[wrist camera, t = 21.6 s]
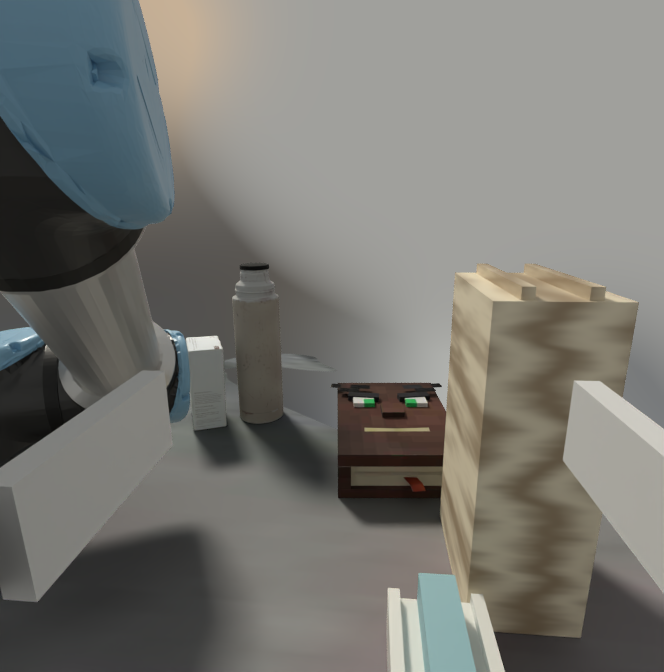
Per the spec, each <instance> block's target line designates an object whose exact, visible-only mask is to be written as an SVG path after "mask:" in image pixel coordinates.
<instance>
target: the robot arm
mask: <svg viewBox="0 0 664 672" xmlns="http://www.w3.org/2000/svg"><path fill="white" fill-rule="evenodd" d="M173 206H174V177H173V169H172V161H171V153H170V144H169V138H168V132H167V126H166V120H165V116H164V112H163V107H162V102H161V98H160V95H159V88H158V79H157V74H156V69H155V64H154V59H153V55H152V51H151V47H150V42H149V38H148V34H147V30H146V26H145V22H144V18H143V15H142V11H141V7H140V4H139V1H138V0H0V293H2V294H3V296H4V297H5V298H6V299H7V300H8V301H9V302H10V304H11V305H12V306H13V307H14V308H15V309H16V310H17V312H18V313H19V314H20V315H21V316H22V317H23V319H24V320H25V321H26V322H27V323H28V324H29V325H30V327H31V328H30V327H27V328H19V329H12V330H7V331H1V332H0V588H1V593H2V597H3V600H15V601H29V602H38V601H39V600H40V598H41V597H42V596H43V595H44V594H45V593H46V591H47V590H48V589H49V588H50V587H51V586H52V584H53V583H54V582H55V581H56V580H57V579H58V578H59V576H60V575H61V574H62V573H63V572H64V571H65V569H66V568H67V567H68V566H69V565H70V564H71V562H72V561H73V560H74V559H75V558H76V557H77V556H78V554H79V553H80V552H81V551H82V550H83V549H84V547H85V546H86V545H87V544H88V543H89V542H90V540H91V539H92V538H93V537H94V536H95V535H96V534H97V532H98V531H99V530H100V529H101V528H102V527H103V525H104V524H105V523H106V522H107V521H108V520H109V518H110V517H111V516H112V515H113V514H114V513H115V512H116V510H117V509H118V508H119V507H120V506H121V505H122V503H123V502H124V501H125V500H126V499H127V498H128V496H129V495H130V494H131V493H132V492H133V491H134V490H135V488H136V487H137V486H138V485H139V484H140V483H141V481H142V480H143V479H144V478H145V477H146V476H147V474H148V473H149V472H150V471H151V470H152V469H153V468H154V466H155V465H156V464H157V463H158V462H159V461H160V459H161V458H162V457H163V456H164V455H165V454H166V452H167V451H168V450H169V449H170V448H171V447H172V446H173V443H172V434H171V425H170V423H174V422H178V421H181V420H182V419H183V418H185V416H186V415H187V413H188V410H189V405H190V394H189V392H190V366H189V357H188V349H187V344H186V341H185V338H184V336H183V334H182V333H181V332H179V331H170V330H163V329H162V328H161V327H160V326H158V325H157V324H156V323H154V322H153V321H152V318H151V314H150V310H149V306H148V302H147V298H146V294H145V290H144V286H143V282H142V278H141V274H140V270H139V266H138V262H137V258H136V254H135V249H134V248H135V246H136V245H137V244H138V242H139V240H140V238H141V237H142V235H143V233H144V230H145V228H146V226H147V225H148V224H152V223H155V224H156V223H159V222H162V221H164V220H165V218H166V217H167V216H168V215H170V214H171V211H172V209H173ZM563 461H564V463H565V464H566V465H567V467H568V468H569V469H570V471H571V472H572V473H573V475H574V476H575V477H576V478H577V480H578V481H579V482H580V484H581V485H582V486H583V488H584V489H585V490H586V492H587V493H588V494H589V496H590V497H591V498H592V500H593V501H594V502H595V504H596V505H597V506H598V507H599V509H600V510H601V511H602V513H603V514H604V515H605V517H606V518H607V519H608V521H609V522H610V523H611V525H612V526H613V527H614V529H615V530H616V531H617V533H618V534H619V535H620V537H621V538H622V539H623V540H624V542H625V543H626V544H627V546H628V547H629V548H630V550H631V551H632V552H633V554H634V555H635V556H636V558H637V559H638V560H639V562H640V563H641V564H642V566H643V567H644V568H645V570H646V571H647V572H648V573H649V575H650V576H651V577H652V579H653V580H654V581H655V583H656V584H657V585H658V587H659V588H660V589H661V591H662V592H663V593H664V429H663V428H662V427H660V426H659V425H658V424H656V423H655V422H653V421H652V420H651V419H650V418H648V417H647V416H646V415H644V414H643V413H641V412H640V411H639V410H638V409H636V408H635V407H634V406H632V405H631V404H630V403H628V402H627V401H626V400H624V399H623V398H622V397H620V396H619V395H618V394H616V393H615V392H614V391H612V390H611V389H610V388H608V387H607V386H606V385H604V384H603V383H602V382H600V381H574V384H573V391H572V398H571V405H570V412H569V419H568V426H567V433H566V440H565V447H564V454H563Z"/></svg>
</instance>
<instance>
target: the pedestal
mask: <svg viewBox="0 0 664 672" xmlns="http://www.w3.org/2000/svg"><path fill="white" fill-rule="evenodd" d="M454 284H455V285H454V299H453V315H452V331H451V346H450V362H449V379H448V395H447V411H446V425H445V441H444V457H443V473H442V488H441V504H440V518H441V523H442V528H443V532H444V537H445V542H446V546H447V551H448V555H449V560H450V565H451V569H452V574H453V575H455V577H456V582H457V586H458V591H459V596H460V600H461V602H463V603H470V597H471V593H472V594H483V596H484V600H485V603H486V607H487V610H488V614H489V617H490V621H491V624H492V628H493V632H503V633H517V634H531V635H545V636H559V637H573V638H581V633H582V628H583V622H584V616H585V610H586V605H587V599H588V593H589V587H590V581H591V576H592V570H593V564H594V558H595V553H596V547H597V541H598V535H599V530H600V524H601V518H602V511H601V510H600V509H599V507H598V506H597V505H596V504H595V502H594V501H593V500H592V498H591V497H590V496H589V494H588V493H587V492H586V490H585V489H584V488H583V486H582V485H581V484H580V482H579V481H578V480H577V478H576V477H575V476H574V475H573V473H572V472H571V471H570V469H569V468H568V467H567V465H566V464H565V463H564V461H563V454H564V447H565V440H566V433H567V426H568V419H569V412H570V405H571V398H572V391H573V384H574V381H600V382H602V383H603V384H604V385H606V386H607V387H608V388H610V389H611V390H612V391H614V392H615V393H616V394H618V395H619V396H620V397H623V391H624V385H625V380H626V374H627V368H628V362H629V356H630V350H631V345H632V339H633V333H634V328H635V322H636V316H637V310H638V305H639V302H636V301H633V300H630V299H627V298H624V297H621V296H619V295H615V294H613V293H610V292H607V291H606V287H605V286H601V285H598V284H595V283H592V282H589V281H586V280H583V279H580V278H577V277H574V276H571V275H568V274H565V273H561V272H558V271H555V270H552V269H549V268H546V267H543V266H540V265H537V264H525V266H524V273H506V272H504V271H502V270H499V269H497V268H495V267H493V266H491V265H489V264H477V272H476V273H455V283H454Z"/></svg>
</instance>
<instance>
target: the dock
mask: <svg viewBox="0 0 664 672" xmlns="http://www.w3.org/2000/svg"><path fill="white" fill-rule="evenodd" d="M461 605H462V609H463V614H464V618H465V623H466V627H467V632H468V636H469V641H470V646H471V650H472V655H473V659H474V664H475V668H476V672H505V670H504V667H503V663H502V660H501V656H500V653H499V649H498V646H497V642H496V639H495V635H494V632H493V628H492V624H491V621H490V617H489V614H488V610H487V607H486V603H485V600H484V596H483V594H472V593H471V597H470V603H463V602H461ZM386 636H387V671H388V672H425V670H424V661H423V651H422V642H421V633H420V624H419V614H418V605H417V599H403V598H400V589H395V588H388V598H387V632H386Z"/></svg>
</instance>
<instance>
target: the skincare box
mask: <svg viewBox="0 0 664 672" xmlns="http://www.w3.org/2000/svg"><path fill="white" fill-rule="evenodd" d="M220 343H221V342H220V341H219V340H218V336H207V337H192V338H186V344H187V349H188V357H189V366H190V402H191V414H192V417H193V429H194V430H203V429H210V428H217V427H224V426H227V420H226V400H225V381H224V360H223V348H222V347H221V345H220Z"/></svg>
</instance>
